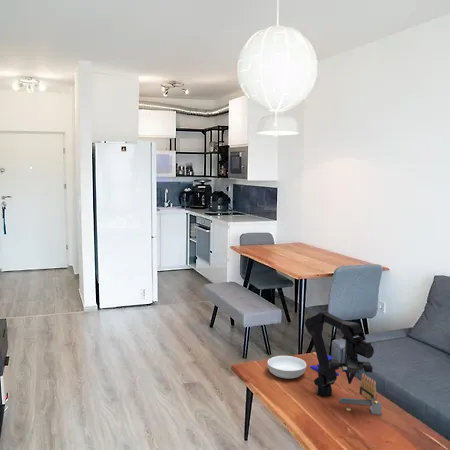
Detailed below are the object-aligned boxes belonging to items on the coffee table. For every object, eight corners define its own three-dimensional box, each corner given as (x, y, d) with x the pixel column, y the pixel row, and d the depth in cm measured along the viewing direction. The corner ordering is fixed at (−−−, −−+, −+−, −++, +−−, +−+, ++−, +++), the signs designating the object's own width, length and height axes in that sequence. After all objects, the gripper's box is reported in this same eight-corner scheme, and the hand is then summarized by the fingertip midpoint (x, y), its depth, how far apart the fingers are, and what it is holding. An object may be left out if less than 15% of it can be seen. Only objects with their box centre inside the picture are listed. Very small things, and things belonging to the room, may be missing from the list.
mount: (338, 376, 252) (339, 360, 251) (328, 378, 248) (329, 362, 247) (320, 365, 265) (321, 351, 264) (310, 368, 261) (310, 353, 260)
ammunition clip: (376, 405, 220) (377, 381, 219) (372, 405, 220) (374, 381, 218) (362, 395, 230) (363, 371, 229) (359, 395, 230) (360, 372, 228)
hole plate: (343, 418, 207) (343, 410, 207) (339, 404, 220) (340, 397, 220) (384, 421, 205) (385, 414, 205) (378, 407, 218) (379, 400, 218)
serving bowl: (288, 364, 266) (289, 352, 265) (313, 378, 248) (314, 366, 247) (259, 371, 255) (259, 359, 254) (283, 386, 237) (283, 373, 236)
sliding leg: (371, 414, 209) (372, 403, 208) (368, 405, 217) (369, 394, 217) (381, 414, 209) (381, 403, 208) (377, 406, 217) (378, 395, 216)
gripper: (332, 355, 204) (330, 389, 206) (375, 359, 202) (373, 393, 204) (329, 346, 215) (328, 379, 217) (371, 349, 213) (369, 382, 215)
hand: (349, 383), depth 213 cm, fingers closed
